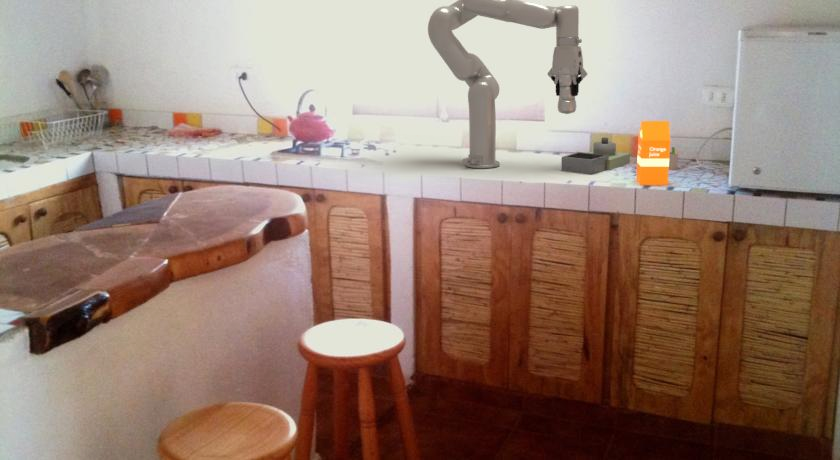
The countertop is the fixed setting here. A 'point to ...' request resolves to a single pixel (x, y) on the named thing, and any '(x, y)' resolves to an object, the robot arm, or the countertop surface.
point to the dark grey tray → (584, 163)
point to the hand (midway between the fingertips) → (567, 95)
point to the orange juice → (653, 153)
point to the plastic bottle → (565, 92)
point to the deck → (616, 160)
